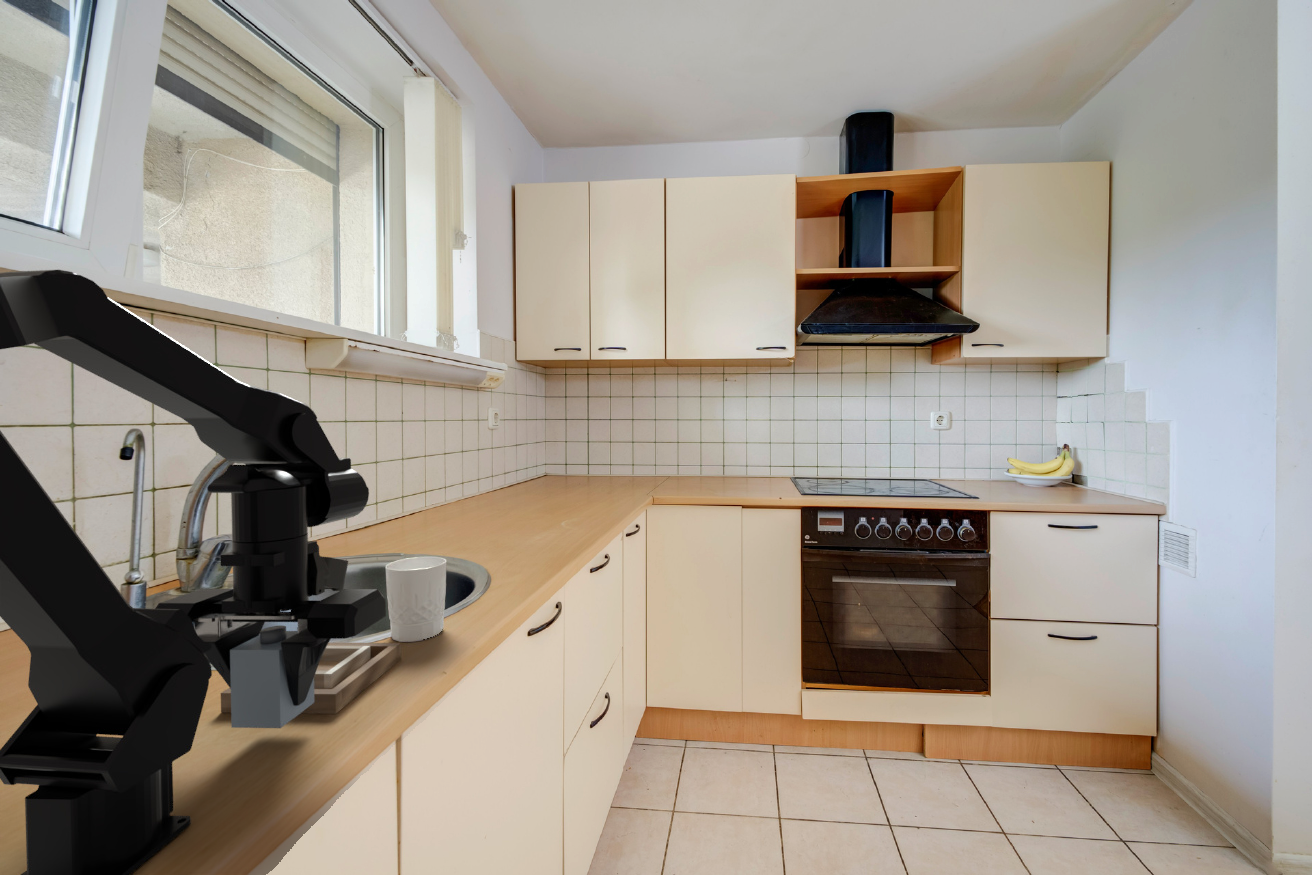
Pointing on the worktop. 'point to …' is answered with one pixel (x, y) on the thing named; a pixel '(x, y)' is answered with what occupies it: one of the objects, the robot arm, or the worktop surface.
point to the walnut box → (343, 674)
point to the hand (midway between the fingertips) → (274, 703)
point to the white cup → (416, 597)
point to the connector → (262, 682)
